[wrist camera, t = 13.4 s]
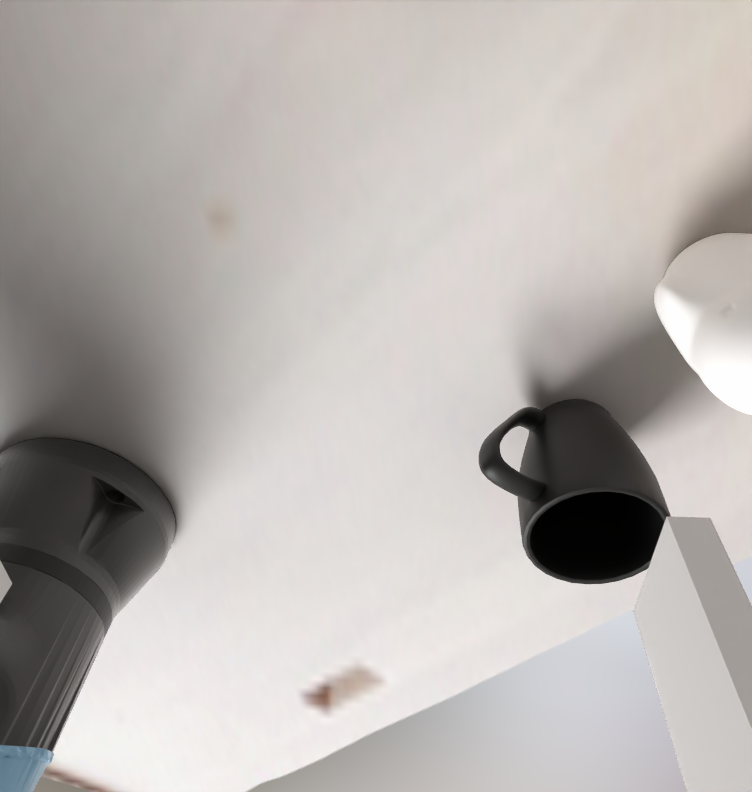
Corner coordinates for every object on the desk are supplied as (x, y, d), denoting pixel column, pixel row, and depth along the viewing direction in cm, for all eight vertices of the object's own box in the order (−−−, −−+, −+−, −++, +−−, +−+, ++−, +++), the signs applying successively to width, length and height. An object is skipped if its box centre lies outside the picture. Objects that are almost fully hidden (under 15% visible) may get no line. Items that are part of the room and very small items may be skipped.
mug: (526, 327, 40) (545, 426, 33) (661, 424, 44) (706, 534, 36) (441, 410, 45) (441, 514, 37) (570, 492, 48) (593, 603, 41)
